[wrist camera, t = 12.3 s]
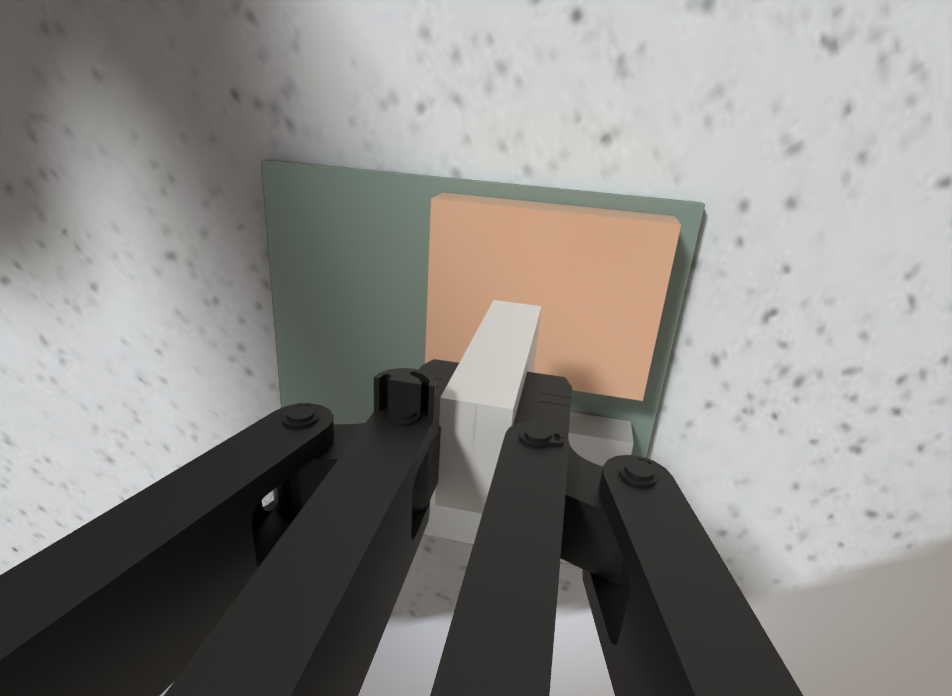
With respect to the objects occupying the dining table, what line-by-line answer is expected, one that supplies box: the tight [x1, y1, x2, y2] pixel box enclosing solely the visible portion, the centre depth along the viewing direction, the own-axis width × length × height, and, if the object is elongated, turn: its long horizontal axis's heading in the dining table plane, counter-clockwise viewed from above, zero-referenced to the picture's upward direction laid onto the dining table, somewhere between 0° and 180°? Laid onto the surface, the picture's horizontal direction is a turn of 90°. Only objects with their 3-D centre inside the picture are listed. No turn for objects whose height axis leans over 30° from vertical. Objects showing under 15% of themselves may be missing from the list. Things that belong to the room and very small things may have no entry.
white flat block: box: [423, 412, 633, 564], centre depth 26 cm, size 2×7×9 cm
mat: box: [261, 160, 705, 458], centre depth 26 cm, size 18×17×1 cm
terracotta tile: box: [425, 192, 681, 401], centre depth 22 cm, size 2×7×9 cm
